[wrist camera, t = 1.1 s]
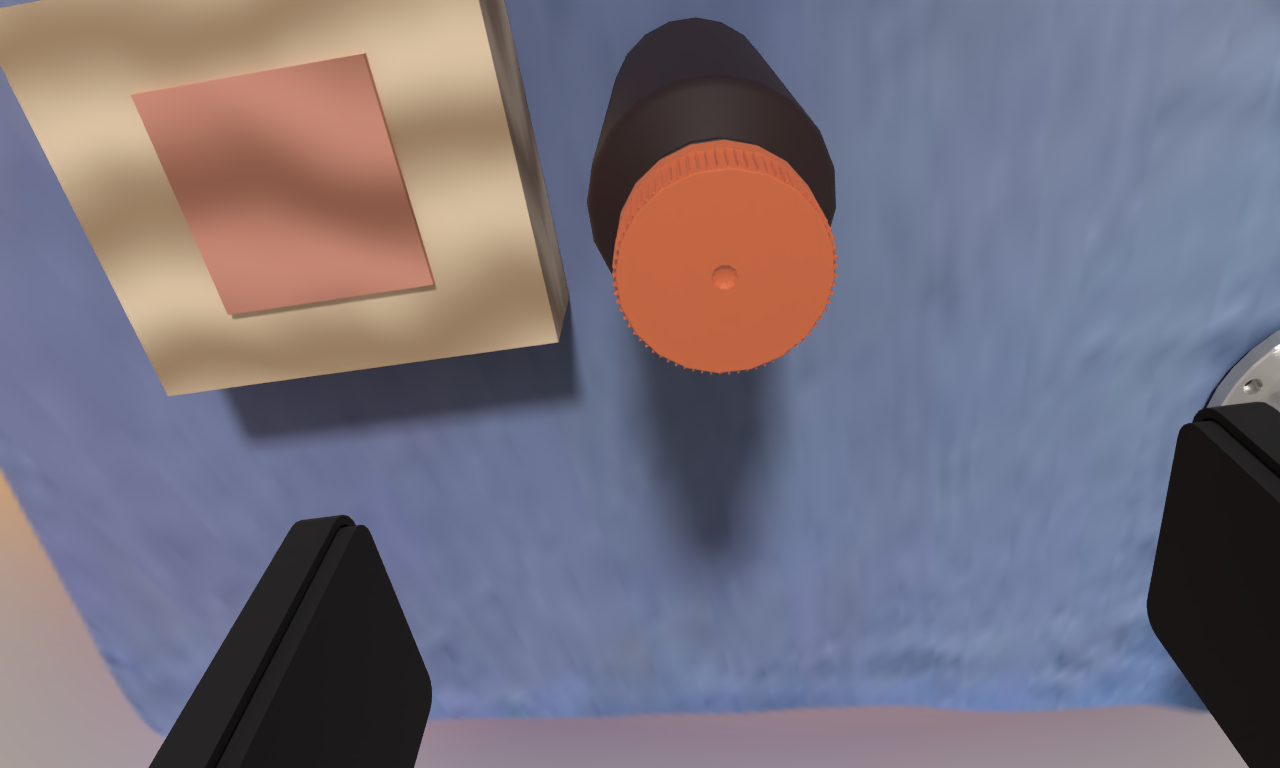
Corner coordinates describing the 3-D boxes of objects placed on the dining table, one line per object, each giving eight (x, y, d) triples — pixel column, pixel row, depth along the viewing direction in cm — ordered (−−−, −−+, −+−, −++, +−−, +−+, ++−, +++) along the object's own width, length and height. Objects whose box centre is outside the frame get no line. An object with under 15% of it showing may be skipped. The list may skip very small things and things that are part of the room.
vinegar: (715, -21, 33) (779, 42, 16) (800, 122, 36) (937, 312, 18) (580, 83, 35) (503, 240, 18) (671, 210, 38) (682, 457, 20)
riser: (569, 296, 40) (557, 345, 35) (219, 346, 41) (164, 399, 37) (487, -79, 32) (458, -80, 27) (62, 1, 34) (-33, 14, 29)
